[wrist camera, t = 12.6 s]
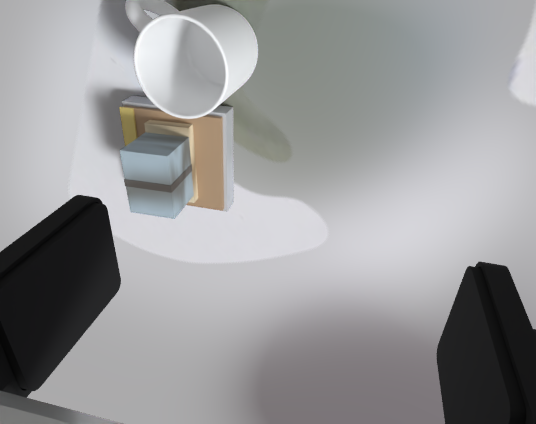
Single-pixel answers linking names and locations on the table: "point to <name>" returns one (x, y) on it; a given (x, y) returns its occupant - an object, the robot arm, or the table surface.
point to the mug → (191, 55)
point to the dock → (205, 143)
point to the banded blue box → (161, 169)
